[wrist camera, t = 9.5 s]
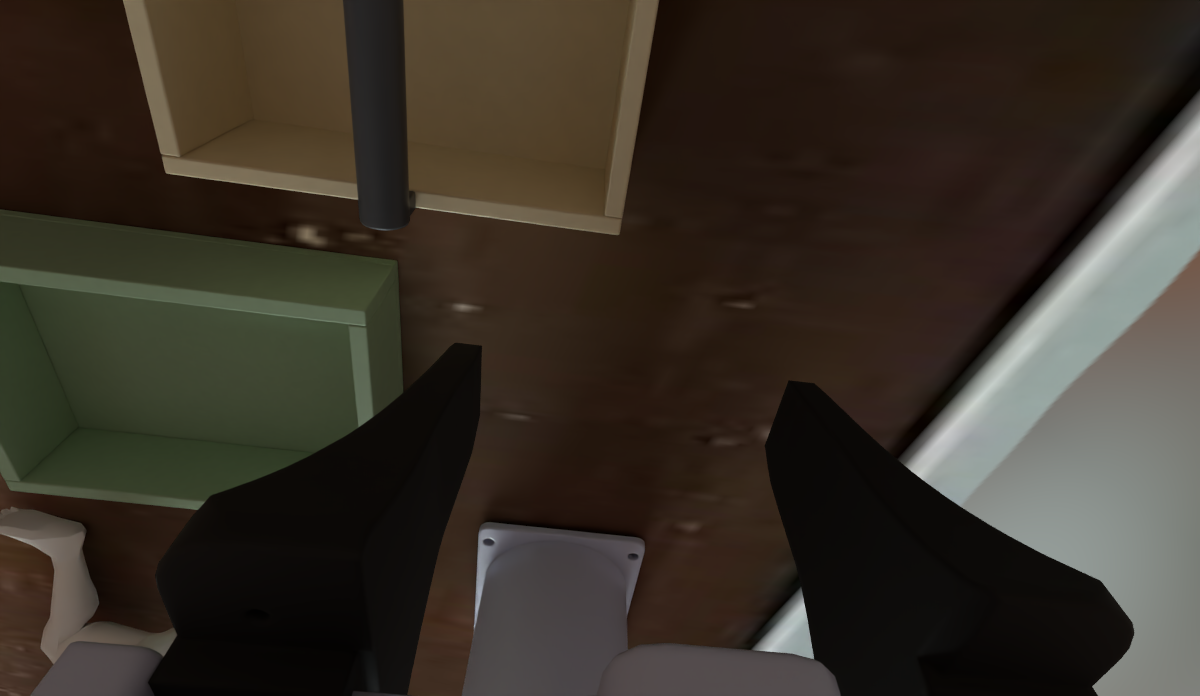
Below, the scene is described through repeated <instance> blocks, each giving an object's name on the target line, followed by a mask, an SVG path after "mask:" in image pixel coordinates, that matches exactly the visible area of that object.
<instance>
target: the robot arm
mask: <svg viewBox="0 0 1200 696" xmlns="http://www.w3.org/2000/svg"><path fill="white" fill-rule="evenodd" d="M481 357H482V346H479V345H471V344H462V343H454V344H453V345H451V346H450V347H449V348H448V349H447V350H446V351H445V353H444V354H443V355H442V356H441V357H440V358H439V359H438V360H437V361H436V362H435V363H434V364H433V365H432V366H431V367H430V368H429V369H428V370H427V371H426V372H425V373H424V374H423V375H422V376H421V377H420V378H419V379H418V380H417V381H415V382H414V383H413V384H412V385H411V386H410V387H409V388H408V389H407V390H406V391H405V392H403V393H402V394H401V395H400V396H399V397H397V398H396V399H395V400H394V401H393V402H391V403H390V404H389V405H388V406H386V407H385V408H384V409H383V410H382V411H380V412H379V413H378V414H376V415H375V416H374V417H372V418H371V419H370V420H368V421H367V422H365V423H364V424H363V425H361V426H360V427H358V428H357V429H355V430H354V431H352V432H351V433H349V434H348V435H346V436H344V437H343V438H341V439H339V440H337V441H335V442H334V443H332V444H330V445H328V446H326V447H325V448H323V449H321V450H319V451H317V452H316V453H314V454H312V455H310V456H308V457H306V458H304V459H302V460H300V461H298V462H295V463H293V464H291V465H289V466H287V467H285V468H282V469H280V470H278V471H275V472H273V473H271V474H268V475H266V476H263V477H261V478H258V479H256V480H253V481H250V482H247V483H245V484H242V485H239V486H236V487H233V488H231V489H228V490H225V491H222V492H219V493H216V494H213V495H210V497H209V498H208V499H207V500H206V501H205V502H204V504H203V505H202V506H201V507H200V508H199V509H198V510H197V511H196V513H195V514H194V515H193V516H192V517H191V519H190V520H189V521H188V523H187V524H186V525H185V527H184V528H183V529H182V531H181V532H180V534H179V535H178V536H177V538H176V539H175V541H174V542H173V543H172V545H171V546H170V548H169V549H168V550H167V552H166V553H165V554H164V556H163V557H162V559H161V560H160V561H159V563H158V567H157V570H156V574H155V578H156V583H157V588H158V591H159V593H160V595H161V598H162V600H163V603H164V605H165V607H166V610H167V612H168V615H169V617H170V619H171V622H172V624H173V627H174V629H175V631H176V634H177V636H176V638H175V639H174V641H173V643H172V644H171V646H170V647H169V649H168V651H167V652H166V654H165V655H164V657H163V656H162V655H161V654H160V653H159V652H157V651H155V650H153V649H151V648H147V647H142V646H135V645H123V644H110V643H98V642H86V641H76V642H72V643H70V644H69V645H68V646H67V648H66V649H65V650H64V652H63V653H62V654H61V656H60V657H59V658H58V659H57V661H56V662H55V663H54V665H53V666H52V667H51V669H50V670H49V671H48V673H47V674H46V675H45V676H44V678H43V679H42V680H41V682H40V683H39V684H38V686H37V687H36V688H35V690H34V691H33V692H32V693H31V695H30V696H410V695H407V693H408V688H409V683H410V678H411V673H412V668H413V664H414V659H415V654H416V649H417V645H418V640H419V635H420V631H421V626H422V622H423V617H424V613H425V608H426V604H427V599H428V595H429V590H430V586H431V582H432V577H433V573H434V569H435V565H436V560H437V556H438V552H439V548H440V545H441V541H442V538H443V535H444V531H445V528H446V525H447V523H448V520H449V517H450V514H451V511H452V508H453V505H454V503H455V500H456V497H457V494H458V491H459V488H460V486H461V483H462V480H463V477H464V474H465V471H466V468H467V465H468V462H469V459H470V457H471V454H472V450H473V445H474V441H475V436H476V431H477V426H478V421H479V417H480V391H481ZM765 449H766V456H767V464H768V470H769V476H770V482H771V486H772V489H773V493H774V496H775V499H776V503H777V506H778V509H779V512H780V516H781V519H782V522H783V525H784V528H785V532H786V535H787V538H788V541H789V544H790V548H791V551H792V554H793V557H794V560H795V564H796V567H797V571H798V575H799V579H800V582H801V587H802V593H803V598H804V603H805V608H806V613H807V619H808V624H809V630H810V636H811V642H812V648H813V654H814V659H810V658H806V657H802V656H799V655H795V654H788V653H777V652H765V651H753V650H742V649H730V648H719V647H707V646H696V645H684V644H672V643H661V644H646V645H639V646H636V647H634V648H632V649H629V650H628V646H627V614H628V611H629V607H630V603H631V600H632V596H633V592H634V589H635V585H636V581H637V578H638V574H639V570H640V567H641V563H642V559H643V556H644V552H645V542H644V541H643V540H642V539H640V538H637V537H629V536H619V535H609V534H600V533H590V532H580V531H571V530H561V529H551V528H542V527H532V526H522V525H513V524H503V523H493V522H487V523H484V524H482V525H481V526H480V529H479V536H478V558H477V579H476V600H475V622H474V636H473V641H472V646H471V651H470V656H469V661H468V667H467V672H466V677H465V682H464V687H463V692H462V696H1098V695H1097V694H1096V692H1095V690H1094V689H1093V688H1092V686H1093V685H1094V684H1095V683H1096V682H1097V681H1098V680H1099V679H1100V678H1101V677H1102V676H1103V675H1104V674H1106V673H1107V672H1108V671H1109V670H1110V669H1111V668H1112V667H1113V666H1114V665H1115V664H1116V663H1117V662H1118V661H1119V660H1120V659H1121V658H1122V657H1123V655H1124V654H1125V653H1126V652H1127V650H1128V649H1129V648H1130V645H1131V642H1132V639H1133V636H1134V629H1133V624H1132V622H1131V620H1130V619H1129V618H1128V616H1127V615H1126V614H1125V612H1124V611H1123V610H1122V608H1121V607H1120V606H1119V604H1118V603H1117V602H1116V600H1115V599H1114V598H1113V597H1112V595H1111V594H1110V592H1109V591H1108V590H1107V588H1106V587H1105V586H1104V585H1103V583H1102V582H1101V581H1100V580H1098V579H1095V578H1093V577H1091V576H1089V575H1087V574H1085V573H1082V572H1080V571H1078V570H1076V569H1074V568H1072V567H1069V566H1067V565H1065V564H1063V563H1061V562H1059V561H1056V560H1054V559H1052V558H1050V557H1048V556H1046V555H1044V554H1042V553H1040V552H1038V551H1036V550H1034V549H1032V548H1030V547H1028V546H1027V545H1024V544H1023V543H1021V542H1019V541H1017V540H1015V539H1013V538H1012V537H1010V536H1008V535H1006V534H1004V533H1002V532H1001V531H999V530H997V529H996V528H994V527H992V526H990V525H989V524H987V523H986V522H984V521H982V520H981V519H979V518H978V517H976V516H974V515H973V514H971V513H969V512H968V511H966V510H965V509H963V508H961V507H960V506H959V505H957V504H956V503H954V502H953V501H951V500H950V499H948V498H947V497H945V496H944V495H942V494H941V493H940V492H938V491H937V490H936V489H934V488H933V487H931V486H930V485H929V484H927V483H926V482H925V481H923V480H922V479H920V478H919V477H918V476H917V475H915V474H914V473H913V472H911V471H910V470H909V469H908V468H907V467H905V466H904V465H903V464H902V463H901V462H899V461H898V460H897V459H896V458H895V457H893V456H892V455H891V454H890V453H889V452H888V451H886V450H885V449H884V448H883V447H882V446H881V445H880V444H879V443H877V442H876V441H875V440H874V439H873V438H872V437H871V436H870V435H869V434H868V433H867V432H866V431H864V430H863V429H862V428H861V427H860V426H859V425H858V424H857V423H856V422H855V421H854V420H853V419H852V418H851V417H850V416H849V415H848V414H847V413H846V412H845V411H843V410H842V409H841V408H840V407H839V406H838V405H837V404H836V403H835V402H834V401H833V400H832V399H831V398H830V397H829V396H828V395H827V394H826V393H825V392H823V391H822V390H821V389H820V388H819V387H818V386H817V385H815V384H814V383H806V382H798V381H788V384H787V387H786V389H785V392H784V395H783V397H782V400H781V403H780V406H779V408H778V411H777V414H776V417H775V419H774V422H773V425H772V428H771V430H770V433H769V436H768V439H767V441H766V444H765ZM488 538H489V539H488ZM632 553H633V554H632Z"/></svg>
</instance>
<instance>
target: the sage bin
mask: <svg viewBox="0 0 1200 696" xmlns="http://www.w3.org/2000/svg"><path fill="white" fill-rule="evenodd" d="M402 393H403V371H402V348H401V326H400V303H399V281H398V262H397V261H395V260H388V259H380V258H372V257H365V256H357V255H349V254H341V253H334V252H326V251H318V250H310V249H303V248H295V247H287V246H279V245H272V244H264V243H256V242H249V241H241V240H233V239H225V238H218V237H210V236H202V235H194V234H187V233H179V232H171V231H164V230H156V229H148V228H140V227H133V226H125V225H117V224H109V223H102V222H94V221H86V220H78V219H71V218H63V217H55V216H48V215H40V214H32V213H24V212H17V211H9V210H1V209H0V473H1V475H2V476H3V478H4V479H5V482H6V483H7V485H8V487H9V489H10V490H11V491H19V492H29V493H39V494H49V495H59V496H69V497H79V498H88V499H98V500H108V501H118V502H128V503H138V504H147V505H157V506H167V507H177V508H187V509H197V510H198V509H199V508H200V507H201V506H202V505H203V504H204V502H205V501H206V500H207V499H208V498H209V497H210V495H213V494H216V493H219V492H222V491H225V490H228V489H231V488H233V487H236V486H239V485H242V484H245V483H247V482H250V481H253V480H256V479H258V478H261V477H263V476H266V475H268V474H271V473H273V472H275V471H278V470H280V469H282V468H285V467H287V466H289V465H291V464H293V463H295V462H298V461H300V460H302V459H304V458H306V457H308V456H310V455H312V454H314V453H316V452H317V451H319V450H321V449H323V448H325V447H326V446H328V445H330V444H332V443H334V442H335V441H337V440H339V439H341V438H343V437H344V436H346V435H348V434H349V433H351V432H352V431H354V430H355V429H357V428H358V427H360V426H361V425H363V424H364V423H365V422H367V421H368V420H370V419H371V418H372V417H374V416H375V415H376V414H378V413H379V412H380V411H382V410H383V409H384V408H385V407H386V406H388V405H389V404H390V403H391V402H393V401H394V400H395V399H396V398H397V397H399V396H400V395H401V394H402Z"/></svg>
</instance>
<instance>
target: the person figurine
mask: <svg viewBox="0 0 1200 696" xmlns="http://www.w3.org/2000/svg"><path fill="white" fill-rule="evenodd" d="M1 513H2V514H1ZM1 513H0V534H2V535H6V536H9V537H12V538H14V539H17V540H20V541H22V542H25V543H28V544H30V545H33V546H34V547H36V548H37V549H39V550H41V551H42V552H44V553H45V554H47V555H49V556H50V557H51V559H52V563H53V567H54V571H55V572H54V582H53V591H52V601H51V614H50V619H49V620H48V622H47V624H46V626H45V628H44V630H43V636H42V641H41V647H40V648H41V649H42V651H43V652H44V653H45V654H46V655H47V656H48V658H49V659H50V660H51V661H52V663H53V664H54V663H55V662H56V661H57V659H58V658H59V657H60V656H61V654H62V653H63V652H64V650H65V649H66V648H67V646H68V645H69V644H70V643H72V642H76V641H86V642H98V643H110V644H123V645H135V646H142V647H147V648H151V649H153V650H155V651H157V652H159V653H160V654H161V655H162V656H163V657H164V655H165V654H166V652H167V651H168V649H169V647H170V646H171V644H172V643H173V641H174V639H175V638H176V636H177V634H176V631H175V629H174V628H171V629H169V630H167V631H164V632H161V633H149V632H146V631H142V630H139V629H135V628H132V627H129V626H125V625H122V624H118V623H115V622H111V621H99V622H94V623H86V622H87V621H88V620H89V619H90V618H91V617H92V616H93V615H94V613H95V611H96V609H97V607H98V605H99V599H98V594H97V590H96V588H95V586H94V585H93V583H92V581H91V579H90V575H89V572H88V568H87V565H86V561H85V558H84V554H83V551H82V547H83V543H84V539H85V535H86V531H87V530H86V529H85V527H84V526H83V525H82V523H79V522H75V521H71V520H67V519H63V518H59V517H56V516H53V515H50V514H46V513H43V512H40V511H37V510H30V509H20V508H15V507H11V508H10V510H9V509H3V510H1ZM3 514H4V515H3Z"/></svg>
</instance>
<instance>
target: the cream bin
mask: <svg viewBox="0 0 1200 696" xmlns="http://www.w3.org/2000/svg"><path fill="white" fill-rule="evenodd" d="M123 3H124V7H125V11H126V15H127V19H128V23H129V27H130V31H131V35H132V39H133V43H134V47H135V51H136V55H137V59H138V63H139V67H140V71H141V75H142V80H143V84H144V88H145V92H146V96H147V100H148V104H149V108H150V112H151V116H152V120H153V124H154V128H155V132H156V136H157V140H158V144H159V148H160V152H161V154H163V155H162V160H163V165H164V169H165V172H166V173H167V174H174V175H182V176H189V177H196V178H204V179H211V180H218V181H225V182H233V183H240V184H247V185H255V186H262V187H269V188H277V189H284V190H291V191H299V192H306V193H313V194H321V195H328V196H335V197H343V198H350V199H357V200H358V205H359V219H360V221H361V223H362V224H363V225H364V226H366V227H368V228H371V229H376V230H396V229H400V228H403V227H405V226H407V225H408V223H409V221H410V215H411V214H412V212H413V211H414V209H415V208H423V209H430V210H438V211H445V212H452V213H460V214H467V215H474V216H482V217H489V218H496V219H504V220H511V221H518V222H525V223H533V224H540V225H547V226H555V227H562V228H569V229H577V230H584V231H591V232H599V233H606V234H613V235H619V234H620V229H621V223H622V216H623V211H624V205H625V199H626V193H627V187H628V181H629V175H630V170H631V164H632V158H633V152H634V146H635V140H636V134H637V128H638V122H639V116H640V110H641V105H642V99H643V93H644V87H645V81H646V75H647V69H648V63H649V57H650V51H651V45H652V39H653V34H654V28H655V22H656V16H657V10H658V4H659V0H123Z"/></svg>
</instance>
